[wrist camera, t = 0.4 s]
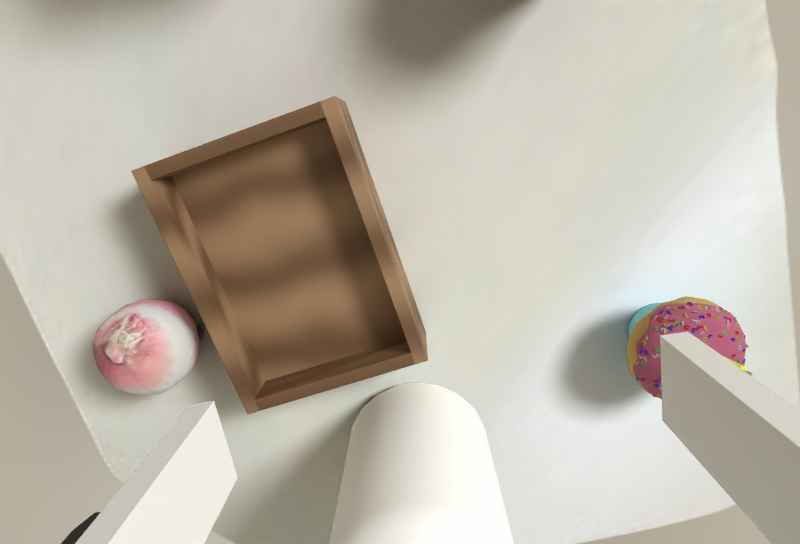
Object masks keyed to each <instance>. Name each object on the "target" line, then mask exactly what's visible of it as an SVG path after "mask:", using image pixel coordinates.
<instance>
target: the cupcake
mask: <svg viewBox="0 0 800 544" xmlns="http://www.w3.org/2000/svg"><path fill="white" fill-rule="evenodd" d="M687 331H688V332H689V333H691V334H692V335H694V336H695V337H696V338H698V339H699V340H701V341H702V342H703V343H705V344H706V345H708V346H709V347H711V348H712V349H713V350H715V351H716V352H718V353H719V354H720V355H722V356H723V357H725V358H726V359H728V360H729V361H730V362H732V363H733V364H735V365H736V366H737V367H739V368H740V369H742V370H743V371H745V372H746V373H747V374H749V375H753V373H752V372H749V371H748V369H747V368H746V367H744V365H745V359H744V357H745V350H746V347H749V346H748V345H747V344H746V342H745V335H744V333H743V331H742V329H741V327H740V325H739V324H738V322H737V320H736V317H734V316H733V315H732V314H731V313H729V312H728V311H726V310H724V309H723V308H721V307H720V306H718V305H717V304H715V303H713V302H710V301H708V300H705V299H699V298H693V297H682V298H679V299H676V300H674V301H670V302H665V303H655V304H651V305H648V306H646V307H644V308H642V309H641V310H639V311H638V312H637V313H636V314H635V315H634V317H633V318H632V320H631V322H630V325H629V329H628V336H629V340H628V343H627V358H628V364H629V371H630V373H631V375H632V376H633V377H634V378H635V379H636V381H637V382H638V383H639V385H640V386H641V387H642V388H644V389H645V390H646V391H648V392H649V393H650V394H652V395H653V396H654V397H658V398H661V399H662V384H661V351H660V335H667V334H674V333H681V332H687Z"/></svg>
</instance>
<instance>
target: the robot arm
mask: <svg viewBox="0 0 800 544" xmlns="http://www.w3.org/2000/svg"><path fill="white" fill-rule="evenodd" d="M660 351H661V384H662V417H663V421H664V422H665V424H666V425H667V426H668V427H669V428H670V429H671V430H672V431H673V433H674V434H675V435H676V436H677V437H678V438H679V439H680V440H681V442H682V443H683V444H684V445H685V446H686V447H687V448H688V449H689V451H690V452H691V453H692V454H693V455H694V456H695V457H696V459H697V460H698V461H699V462H700V463H701V464H702V465H703V466H704V468H705V469H706V470H707V471H708V472H709V473H710V474H711V475H712V477H713V478H714V479H715V480H716V481H717V482H718V483H719V484H720V486H721V487H722V488H723V489H724V490H725V491H726V492H727V494H728V495H729V496H730V497H731V498H732V499H733V500H734V501H735V503H736V504H737V505H738V506H739V507H740V508H741V509H742V510H743V512H745V514H746V515H747V516H748V517H749V518H750V519H751V520H752V522H753V523H754V524H755V525H756V526H757V527H758V529H759V530H760V531H761V532H762V533H763V534H764V535H765V536H766V538H767V539H768V540H769V541H770V542H771V543H772V544H800V410H798V409H797V408H796V407H794V406H793V405H791V404H790V403H788V402H787V401H786V400H784V399H783V398H781V397H780V396H779V395H777V394H776V393H774V392H773V391H771V390H770V389H769V388H767V387H766V386H764V385H763V384H762V383H760V382H759V381H757V380H756V379H754V378H753V377H752V376H750V375H749V374H747V373H746V372H745V371H743V370H742V369H740V368H739V367H737V366H736V365H735V364H733V363H732V362H730V361H729V360H728V359H726V358H725V357H723V356H722V355H720V354H719V353H718V352H716V351H715V350H713V349H712V348H711V347H709V346H708V345H706V344H705V343H703V342H702V341H701V340H699V339H698V338H696V337H695V336H694V335H692V334H691V333H689V332H688V331H687V332H681V333H674V334H667V335H660ZM237 478H238V477H237V474H236V470H235V467H234V464H233V461H232V457H231V454H230V451H229V448H228V445H227V441H226V438H225V435H224V432H223V428H222V425H221V422H220V419H219V415H218V412H217V409H216V406H215V403H214V401H209V402H202V403H195V404H189V406H188V407H187V408H186V409H185V411H184V412H183V413H182V414H181V415H180V417H179V418H178V419H177V420H176V421H175V423H174V424H173V425H172V426H171V428H170V429H169V430H168V431H167V432H166V434H165V435H164V436H163V437H162V438H161V440H160V441H159V442H158V443H157V445H156V446H155V447H154V448H153V449H152V451H151V452H150V453H149V454H148V456H147V457H146V458H145V459H144V460H143V462H142V463H141V464H140V465H139V466H138V468H137V469H136V470H135V471H134V473H133V474H132V475H131V476H130V477H129V479H128V480H127V481H126V482H125V483H124V485H123V486H122V487H121V488H120V490H119V491H118V492H117V493H116V494H115V496H114V497H113V498H112V499H111V501H110V502H109V503H108V504H107V505H106V507H105V508H104V509H103V510H102V511H101V512H97V513H94V514H93V515H91V516H90V517H89V518H88V519H87V520H85V521H84V522H83V523H81V524H80V525H79V526H78V527H76V528H75V529H74V530H73V531H72V532H71V533H70V534H69V535H68V536H67V537H66V539H65V540H64V541H63V542H62V543H61V544H204V543H205V541H206V539H207V537H208V535H209V533H210V531H211V529H212V528H213V526H214V524H215V522H216V520H217V518H218V516H219V514H220V512H221V510H222V508H223V506H224V504H225V502H226V500H227V498H228V496H229V494H230V492H231V490H232V488H233V486H234V484H235V482H236V480H237Z"/></svg>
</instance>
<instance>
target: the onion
mask: <svg viewBox="0 0 800 544" xmlns="http://www.w3.org/2000/svg"><path fill="white" fill-rule="evenodd" d="M204 329H205V324H200V327H198V329H197V328H196V325H195V323H194V321H193V319H192V317H191V315H190V314H189V313H188V312H187V311H186V310H185V309H184V308H183V307H181V306H179V305H178V304H175V303H173V302H170V301H165V300H142V301H137V302H135V303H131V304H128V305H126V306H124V307H122V308H121V309H119V310H118V311H117V312H115V313H114V314H113V315H112V316H110V317H109V318H108V319H107V320H106V321H105V322H104V323H103V324H102V325H101V326H100V327H99V329H98V330H97V333H96V336H95V340H94V345H93V351H94V358H95V361H96V364H97V367H98V369H99V371H100V373H101V374H102V376H103V377H104V378H105V379H106V380H107V381H108V382H109V383H110V384H111V385H113V386H114V387H116V388H118V389H120V390H122V391H124V392H127V393H131V394H141V395H148V394H158V393H161V392H164V391H166V390H168V389H170V388H172V387H173V386H174V385H176V384H177V383H178V382H180V381H181V380H182V379H183V378H184V377H185V376H186V375H187V374H188V373H189V372H190V371H191V370H192V368H193V367H194V365H195V363H196V359H197V356H198V353H199V339H202V337H203V334H204Z"/></svg>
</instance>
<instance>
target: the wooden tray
mask: <svg viewBox="0 0 800 544" xmlns="http://www.w3.org/2000/svg"><path fill="white" fill-rule="evenodd" d="M131 172H132V174H133V176H134V178H135V180H136V182H137V184H138V186H139V188H140V190H141V192H142V194H143V197H144V199H145V201H146V203H147V205H148V207H149V209H150V211H151V213H152V215H153V217H154V220H155V222H156V224H157V226H158V228H159V230H160V232H161V234H162V236H163V238H164V240H165V242H166V245H167V247H168V249H169V251H170V253H171V255H172V257H173V259H174V261H175V263H176V265H177V267H178V270H179V272H180V274H181V276H182V278H183V280H184V282H185V284H186V286H187V288H188V290H189V293H190V295H191V297H192V299H193V301H194V303H195V305H196V307H197V309H198V311H199V313H200V315H201V318H202V320H203V322H204V324H205V326H206V328H207V330H208V332H209V334H210V336H211V338H212V340H213V343H214V345H215V347H216V349H217V351H218V353H219V355H220V357H221V359H222V361H223V363H224V366H225V368H226V370H227V372H228V374H229V376H230V378H231V380H232V382H233V384H234V386H235V388H236V391H237V393H238V395H239V397H240V399H241V401H242V403H243V405H244V407H245V409H246V411H247V414H250V413H254V412H257V411H260V410H264V409H267V408H270V407H274V406H277V405H280V404H284V403H287V402H290V401H294V400H297V399H300V398H304V397H307V396H310V395H314V394H317V393H321V392H324V391H327V390H331V389H334V388H337V387H341V386H344V385H347V384H351V383H354V382H357V381H361V380H364V379H367V378H371V377H374V376H377V375H381V374H384V373H387V372H391V371H394V370H398V369H401V368H404V367H408V366H411V365H414V364H418V363H421V362H424V361H428V355H427V343H426V332H425V329H424V326H423V323H422V320H421V317H420V314H419V312H418V309H417V306H416V303H415V300H414V297H413V294H412V292H411V289H410V286H409V283H408V280H407V277H406V274H405V271H404V269H403V266H402V263H401V260H400V257H399V254H398V251H397V249H396V246H395V243H394V240H393V237H392V234H391V231H390V229H389V226H388V223H387V220H386V217H385V214H384V211H383V209H382V206H381V203H380V200H379V197H378V194H377V191H376V189H375V186H374V183H373V180H372V177H371V174H370V171H369V169H368V166H367V163H366V160H365V157H364V154H363V151H362V149H361V146H360V143H359V140H358V137H357V134H356V131H355V129H354V126H353V123H352V120H351V117H350V114H349V111H348V109H347V106H346V103H345V101H343V100H341V99H339V98H337V97H335V96H334V97H331V98H328V99H326V100H323V101H320V102H317V103H315V104H312V105H309V106H307V107H304V108H301V109H298V110H296V111H293V112H290V113H288V114H285V115H282V116H279V117H277V118H274V119H271V120H269V121H266V122H263V123H260V124H258V125H255V126H252V127H249V128H247V129H244V130H241V131H239V132H236V133H233V134H230V135H228V136H225V137H222V138H220V139H217V140H214V141H211V142H209V143H206V144H203V145H201V146H198V147H195V148H192V149H190V150H187V151H184V152H181V153H179V154H176V155H173V156H171V157H168V158H165V159H162V160H160V161H157V162H154V163H152V164H149V165H146V166H143V167H141V168H138V169H135V170H133V171H131Z"/></svg>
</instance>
